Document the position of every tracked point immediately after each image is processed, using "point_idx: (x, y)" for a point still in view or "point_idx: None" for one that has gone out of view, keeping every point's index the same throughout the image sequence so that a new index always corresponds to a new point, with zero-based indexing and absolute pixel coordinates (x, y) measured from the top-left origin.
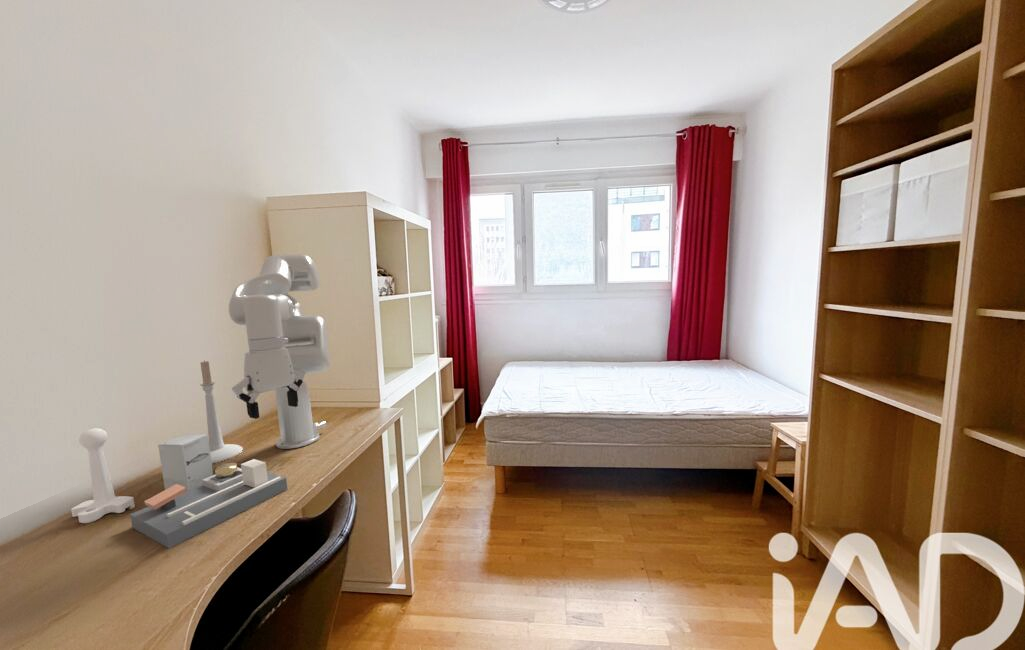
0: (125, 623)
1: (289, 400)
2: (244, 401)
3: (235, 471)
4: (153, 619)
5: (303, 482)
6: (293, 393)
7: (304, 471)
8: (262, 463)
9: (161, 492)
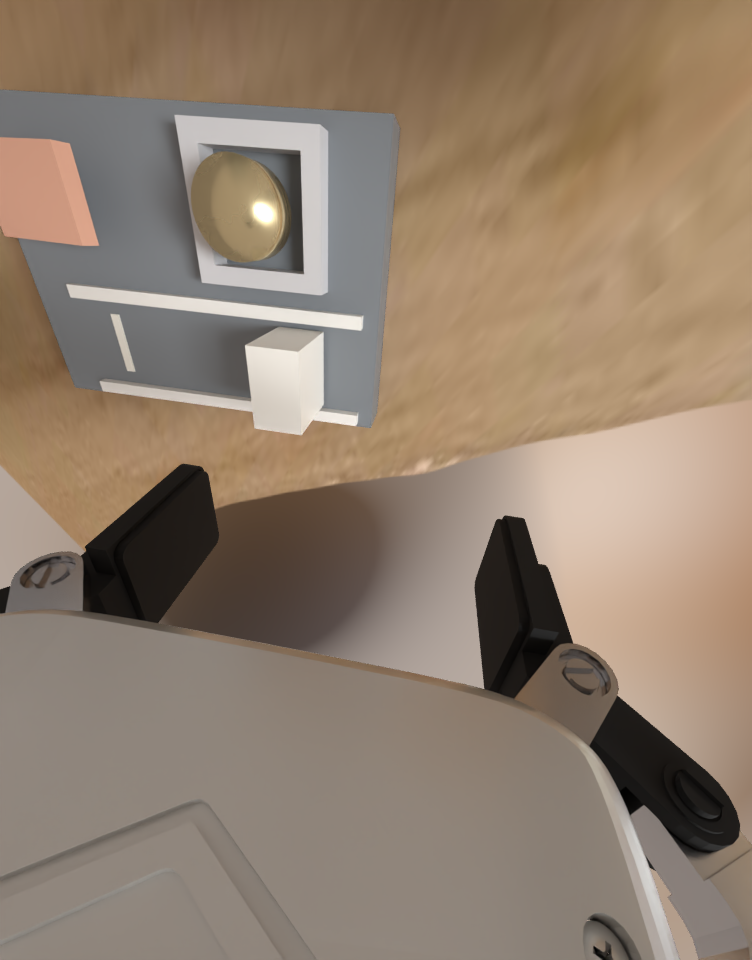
0: (57, 501)
1: (496, 571)
2: (41, 568)
3: (268, 256)
4: (85, 525)
5: (423, 424)
6: (485, 688)
7: (492, 361)
8: (290, 432)
9: (8, 142)
